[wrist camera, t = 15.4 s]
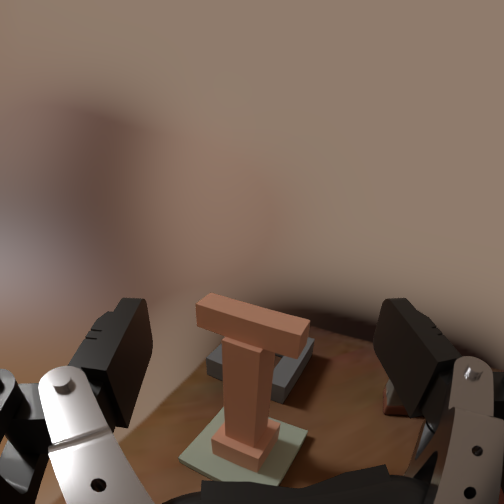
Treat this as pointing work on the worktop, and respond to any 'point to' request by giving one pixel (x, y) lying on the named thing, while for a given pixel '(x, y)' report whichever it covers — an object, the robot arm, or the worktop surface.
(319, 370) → the worktop surface
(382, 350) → the robot arm
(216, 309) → the t key
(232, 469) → the mat
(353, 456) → the worktop surface
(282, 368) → the socket block
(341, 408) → the worktop surface
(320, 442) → the worktop surface
